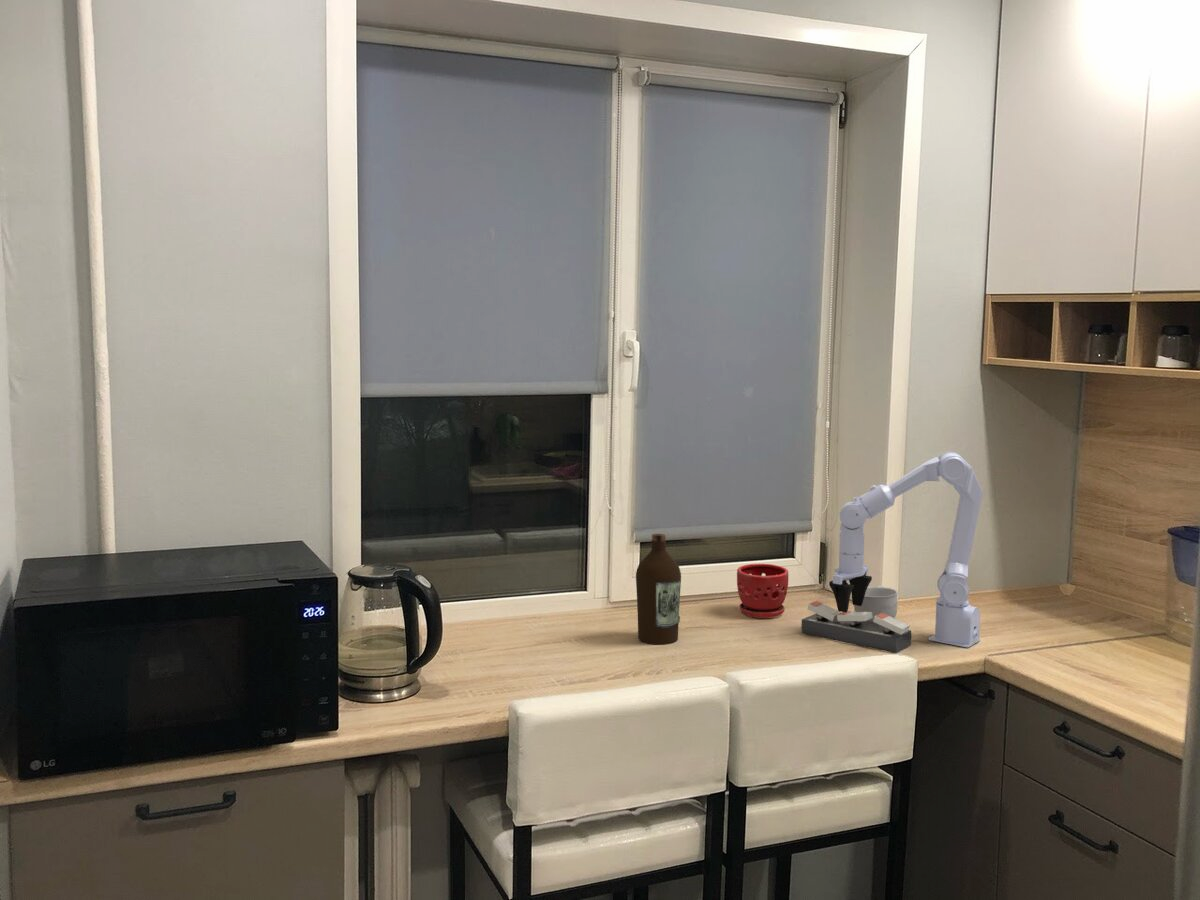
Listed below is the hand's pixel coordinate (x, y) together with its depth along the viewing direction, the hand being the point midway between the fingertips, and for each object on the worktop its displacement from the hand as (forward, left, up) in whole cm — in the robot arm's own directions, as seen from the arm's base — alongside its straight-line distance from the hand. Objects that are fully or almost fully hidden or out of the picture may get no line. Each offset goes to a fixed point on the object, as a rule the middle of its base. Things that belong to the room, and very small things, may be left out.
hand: (850, 608), depth 243 cm
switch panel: (-3, +4, -6) cm, 8 cm away
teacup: (0, -15, -6) cm, 17 cm away
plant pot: (+25, -1, -6) cm, 26 cm away
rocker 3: (-12, +4, -2) cm, 13 cm away
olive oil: (+32, +34, -6) cm, 47 cm away
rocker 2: (-3, +4, -2) cm, 5 cm away
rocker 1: (+5, +4, -2) cm, 7 cm away
